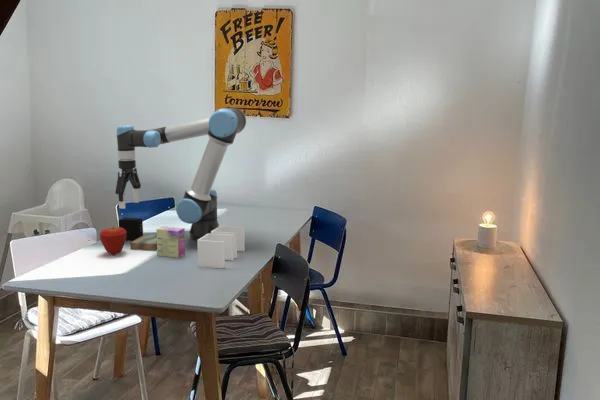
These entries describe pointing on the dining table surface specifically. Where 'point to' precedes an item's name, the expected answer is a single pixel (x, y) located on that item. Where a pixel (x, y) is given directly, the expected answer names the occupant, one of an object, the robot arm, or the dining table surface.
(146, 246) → the wooden tray
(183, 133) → the robot arm
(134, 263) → the dining table surface
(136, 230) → the electronic device
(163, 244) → the box
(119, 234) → the apple
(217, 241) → the white folding screen
